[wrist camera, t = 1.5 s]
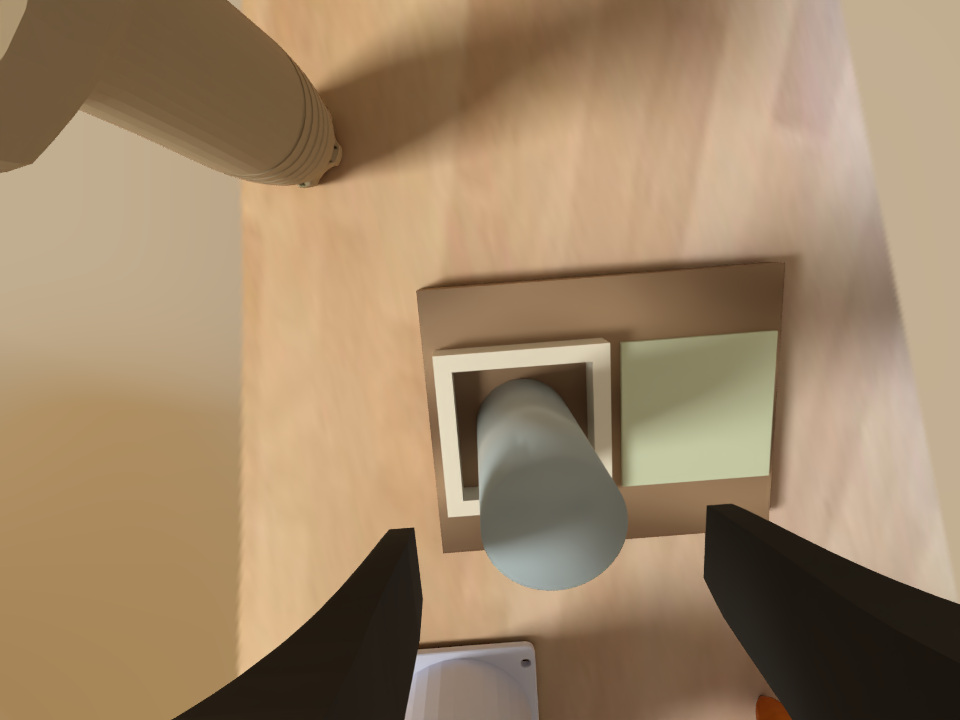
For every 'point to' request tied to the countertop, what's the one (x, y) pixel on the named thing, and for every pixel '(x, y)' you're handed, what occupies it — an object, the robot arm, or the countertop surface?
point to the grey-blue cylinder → (544, 491)
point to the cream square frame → (512, 357)
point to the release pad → (697, 407)
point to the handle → (162, 85)
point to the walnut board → (584, 315)
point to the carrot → (770, 709)
